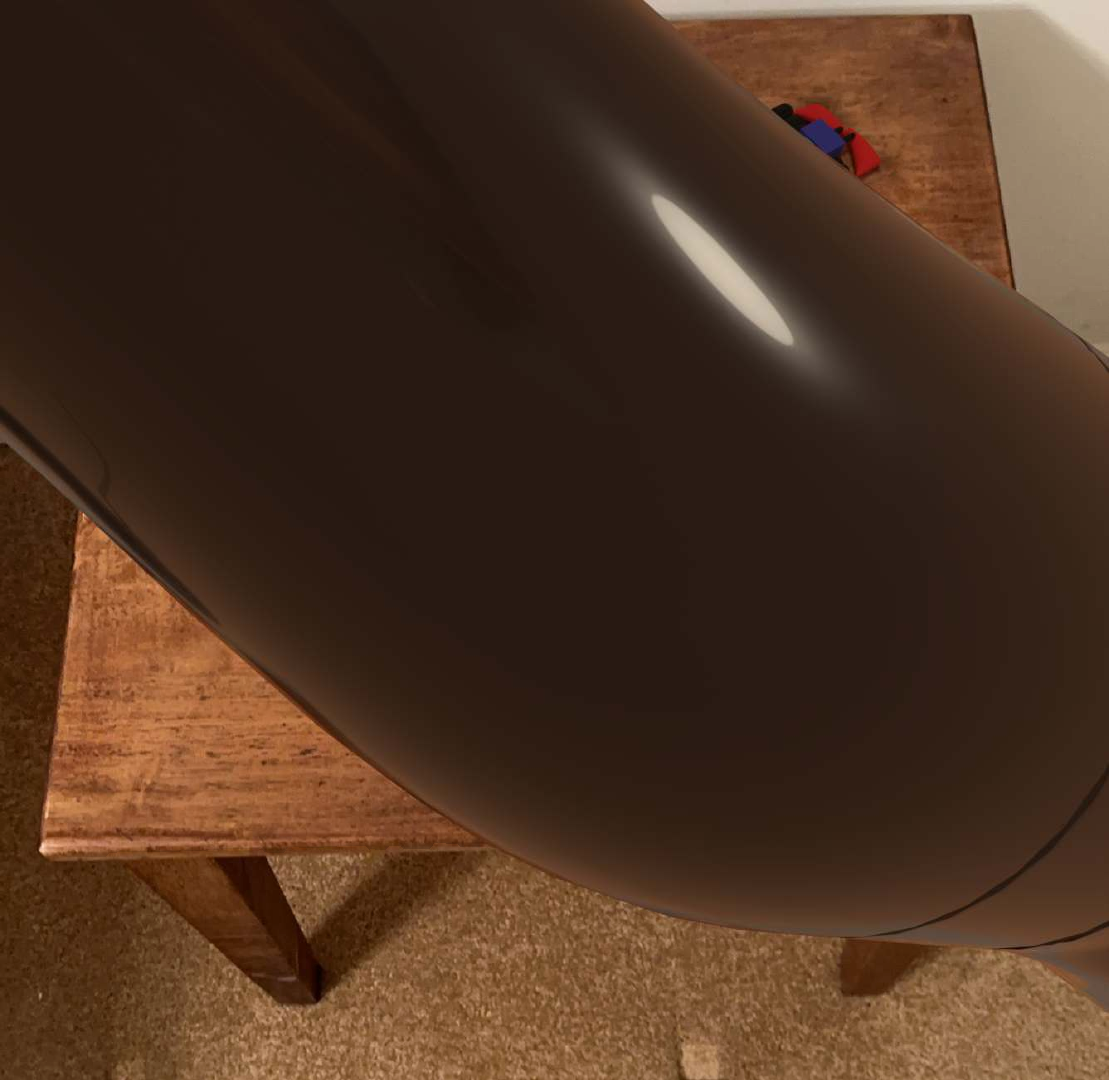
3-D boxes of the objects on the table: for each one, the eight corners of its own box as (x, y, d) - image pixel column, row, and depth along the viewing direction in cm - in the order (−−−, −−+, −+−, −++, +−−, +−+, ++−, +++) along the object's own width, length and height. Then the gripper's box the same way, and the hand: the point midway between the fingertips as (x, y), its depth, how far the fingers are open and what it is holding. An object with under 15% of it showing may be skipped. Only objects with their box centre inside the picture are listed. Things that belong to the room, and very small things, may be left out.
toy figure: (801, 116, 78) (627, 206, 72) (828, 59, 73) (646, 150, 68) (877, 196, 76) (705, 295, 71) (910, 142, 72) (729, 242, 66)
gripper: (808, 290, 34) (533, 286, 48) (440, 631, 30) (262, 517, 44) (907, 486, 37) (623, 427, 52) (588, 814, 34) (378, 653, 48)
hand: (457, 469), depth 48 cm, fingers closed on hat, 6 cm apart
